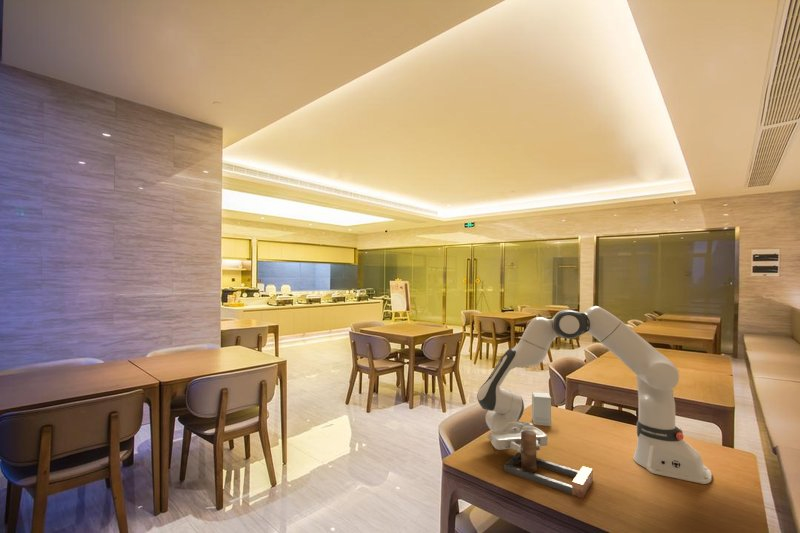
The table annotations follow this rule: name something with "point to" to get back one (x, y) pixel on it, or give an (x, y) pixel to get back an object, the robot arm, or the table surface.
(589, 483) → the guide track
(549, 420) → the supplement box
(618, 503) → the table surface
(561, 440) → the table surface
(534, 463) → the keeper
